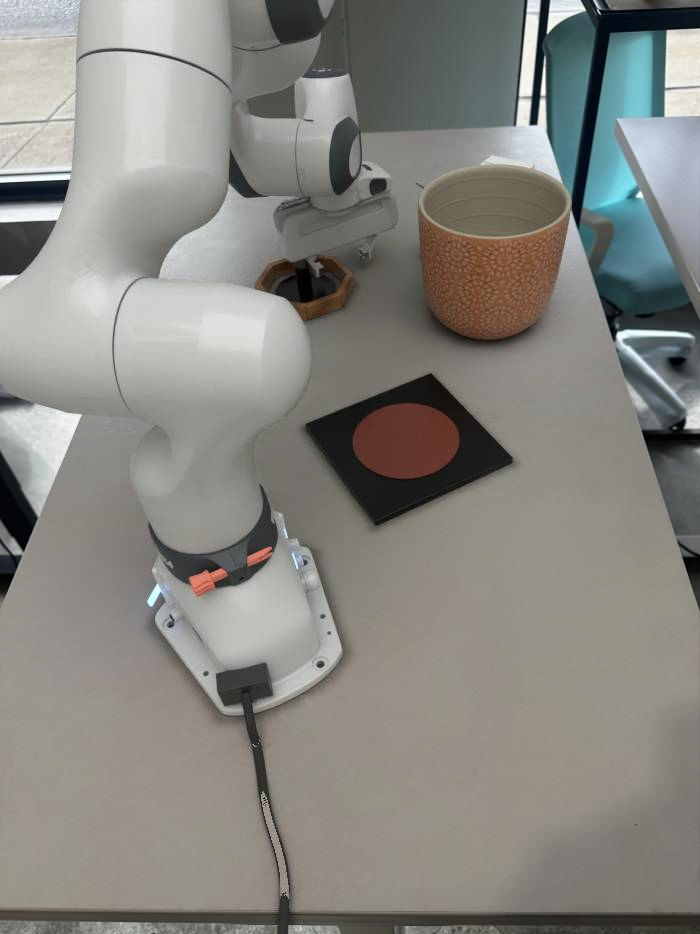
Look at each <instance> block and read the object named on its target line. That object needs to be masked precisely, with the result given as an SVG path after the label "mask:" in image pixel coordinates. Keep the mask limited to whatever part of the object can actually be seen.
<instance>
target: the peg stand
mask: <svg viewBox="0 0 700 934" xmlns="http://www.w3.org/2000/svg"><path fill="white" fill-rule="evenodd" d="M294 268H295V272H294V273H295V274H294V275H289V276H288V277H286V278H284V279H283V280H282V281H280V282H279V283H278V284H277V286H276V288H275V292H274V293H275V294H274V295H277V296H280V297H283V298H285V299H287V300H288V301H291V302H299V303H309V302H311V301H314V300H317V299H320V298H323V297H325V296H328V295H331V294H334V293H336V292H337V288H336V284H335V282H334V280H333V279H331V277H329V276H327V275H326V274H325V275H324V276H322V277H319V278H316V277H315V276H314V275H313V272H311V270H310V267H309V263H308V262H306V261H299V262H297V263H295V265H294Z"/></svg>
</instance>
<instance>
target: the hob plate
mask: <svg viewBox="0 0 700 934" xmlns="http://www.w3.org/2000/svg"><path fill="white" fill-rule="evenodd" d="M304 426H305V430H306V431H307V432H308V434H309V436H310V437H311V438H312V440H313V441H314V442H315V443H316V445H317V446H318V448H319V449H320V450H321V452H322V453H323V455H324V456H325V458H326V459H327V460H328V461H329V463H330V464H331V466H332V467H333V468H334V470H335V472H336V473H337V474H338V476H339V478H341V479H342V481H343V482H344V484H345V485H346V487H347V488H348V489H349V491H350V492H351V493H352V495H353V497H354V498H355V499H356V501H357V502H358V503H359V505H360V506H361V507H362V509H363V510H364V511H365V513H366V514H367V515H368V518H370V520H371V521H372V523H373V524H374V526H379V525H381V524H383V523H387V522H388V521H390V520H392V519H394V518H396V517H399V516H400V515H403V514H405V513H408V512H410V511H411V510H414V509H417V508H418V507H420V506H423V505H425V504H427V503H429V502H431V501H433V500H436V499H437V498H439V497H442V496H444V495H446V494H448V493H450V492H453V491H455V490H457V489H459V488H462V487H464V486H465V485H467V484H471V483H472V482H474V481H476V480H480V479H482V478H483V477H485V476H487V475H489V474H492V473H494V472H496V471H498V470H500V469H502V468H504V467H507V466H508V465H511V464H513V462H514V457H513V456H512V455H511V454H510V453H509V452H508V451H507V450H506V449H505V448H504V447H503V446H502V445H501V444H500V443H499V441H498V440H496V438H495V437H494V436H493V435H492V434H491V433H490V432H489V431H488V430H487V429H486V428H485V427H484V425H482V424H481V423H480V422H479V420H477V419H476V418H475V417H474V416H473V414H471V413H470V411H469V410H468V409H467V408H466V407H464V405H463V404H462V403H461V402H460V401H459V400H458V399H457V398H456V397H455V396H454V395H453V394H452V393H451V392H450V390H448V388H446V387H445V386H444V385H443V383H442V382H440V380H438V378H436V376H435V374H433V373H432V372H430V373H428V374H424V375H422V376H420V377H418V378H415V379H412V380H410V381H408V382H405V383H402V384H400V385H398V386H396V387H393V388H390V389H388V390H385V391H383V392H380V393H378V394H376V395H373V396H371V397H368V398H366V399H363V400H360V401H358V402H355V403H353V404H351V405H348V406H346V407H343V408H341V409H338V410H335V411H334V412H330V413H328V414H326V415H323V416H321V417H319V418H316V419H313V420H311V421H309V422H305V425H304Z"/></svg>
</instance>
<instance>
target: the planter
mask: <svg viewBox="0 0 700 934" xmlns="http://www.w3.org/2000/svg"><path fill="white" fill-rule="evenodd" d="M572 204H573V201H572V195H571V194H570V191H569V190H568V188H567V186H565V185H564V184H563V183H562V182H561V181H560V180H558V179H557V178H556V177H553V176H552V175H550V174H548V173H545V172H544V171H541V170H537V169H531V168H527V167H522V166H516V165H506V164H485V165H480V164H475V165H469V166H465V167H460V168H457V169H453V170H450V171H448V172H445V173H443V174H441V175H439V176H437V177H435V178H433V179H432V180H431V181H430V182H428V183H427V184H426V185H425V187H424V189H423V188H422V189H421V192H420V193H419V196H418V198H417V219H418V221H417V223H418V236H419V237H418V238H419V251H420V252H419V253H420V262H421V263H420V264H421V272H422V279H423V280H422V281H423V286H424V292H425V297H426V299H427V303H428V305H429V308H430V310H431V311H432V313H433V315H434V316H435V317H436V319H437V320H438V321H440V322H441V324H443V325H444V326H445V327H446V328H448V329H449V330H451V331H453V332H455V333H457V334H459V335H461V336H463V337H467V338H469V339H475V340H485V341H487V340H489V341H492V340H499V339H504V338H509V337H513V336H515V335H517V334H519V333H521V332H523V331H524V330H527V329H528V328H529V327H531V326H532V325H533V324H535V323H536V322H538V320H539V319H540V318H541V316H543V314H544V312H545V311H546V309H547V308H548V306H549V304H550V301H551V299H552V296H553V292H554V290H555V288H556V285H557V280H558V276H559V273H560V268H561V264H562V260H563V255H564V251H565V250H564V249H565V245H566V241H567V235H568V230H569V224H570V218H571V213H572Z"/></svg>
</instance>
